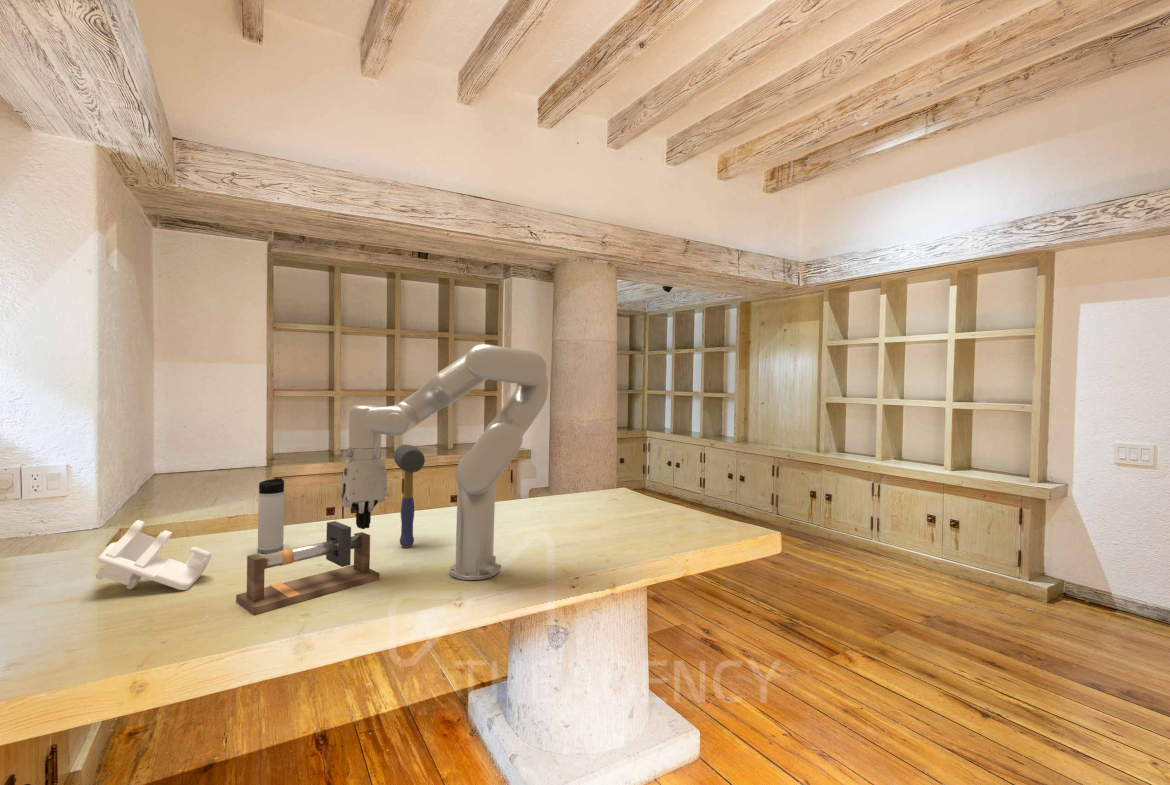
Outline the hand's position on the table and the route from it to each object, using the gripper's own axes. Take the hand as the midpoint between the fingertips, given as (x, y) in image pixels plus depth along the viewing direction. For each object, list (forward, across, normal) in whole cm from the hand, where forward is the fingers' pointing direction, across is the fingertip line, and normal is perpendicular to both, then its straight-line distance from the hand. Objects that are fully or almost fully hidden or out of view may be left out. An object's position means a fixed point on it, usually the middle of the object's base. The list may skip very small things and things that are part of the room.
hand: (363, 527), depth 134 cm
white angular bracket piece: (+13, -35, +28) cm, 47 cm away
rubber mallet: (+12, +21, +13) cm, 27 cm away
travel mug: (+12, -7, +37) cm, 40 cm away
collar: (+7, -6, 0) cm, 10 cm away
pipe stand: (+12, -12, 0) cm, 17 cm away
